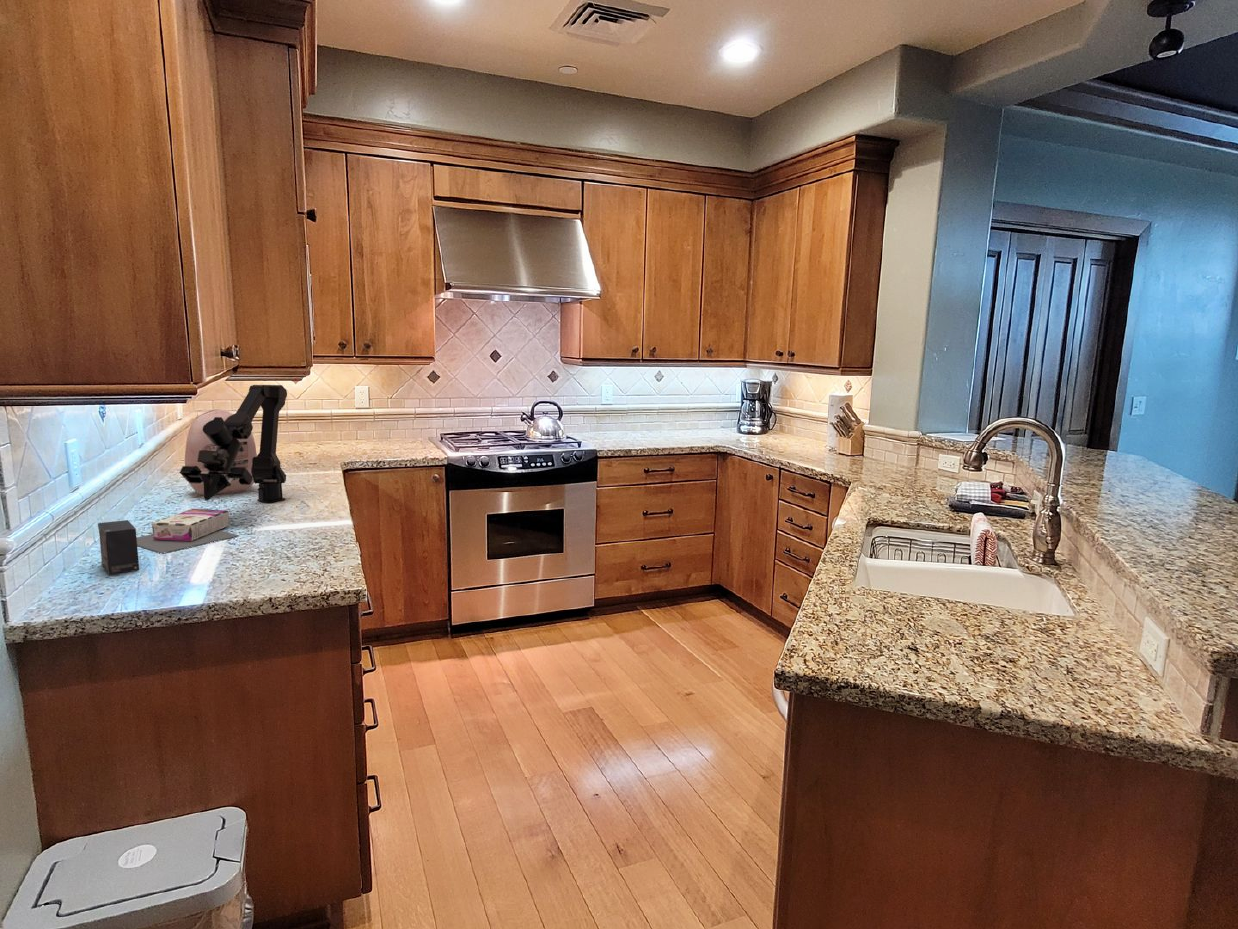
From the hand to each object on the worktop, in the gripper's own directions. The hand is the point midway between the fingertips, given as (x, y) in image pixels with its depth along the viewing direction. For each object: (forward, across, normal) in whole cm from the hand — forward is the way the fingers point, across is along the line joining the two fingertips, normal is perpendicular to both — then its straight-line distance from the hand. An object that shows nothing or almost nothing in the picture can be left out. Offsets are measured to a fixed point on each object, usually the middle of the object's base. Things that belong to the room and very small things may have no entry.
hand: (206, 499), depth 200 cm
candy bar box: (+2, 0, +6) cm, 6 cm away
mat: (+14, -1, -2) cm, 14 cm away
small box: (+31, 0, -19) cm, 36 cm away
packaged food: (-25, -22, +38) cm, 50 cm away
